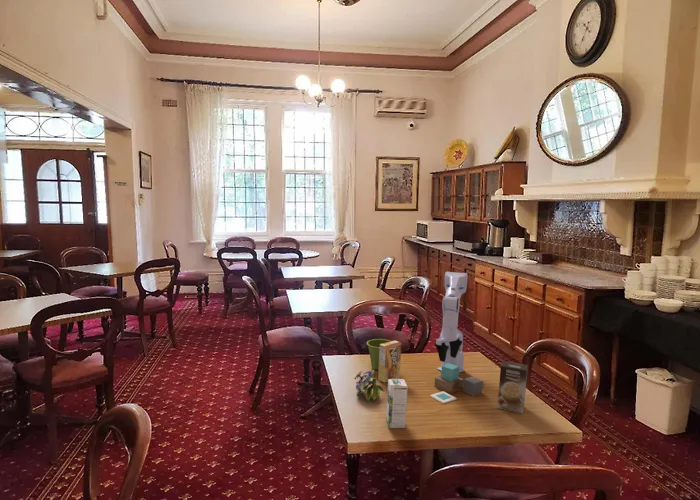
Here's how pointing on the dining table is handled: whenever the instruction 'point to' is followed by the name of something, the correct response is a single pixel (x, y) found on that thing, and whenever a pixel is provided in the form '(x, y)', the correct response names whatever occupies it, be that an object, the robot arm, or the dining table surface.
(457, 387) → the walnut block
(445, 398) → the card
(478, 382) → the charcoal cube
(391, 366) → the candy box
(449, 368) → the teal cube
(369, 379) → the passion flower
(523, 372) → the coffee box
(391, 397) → the syrup box
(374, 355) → the plant pot
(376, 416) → the dining table surface
